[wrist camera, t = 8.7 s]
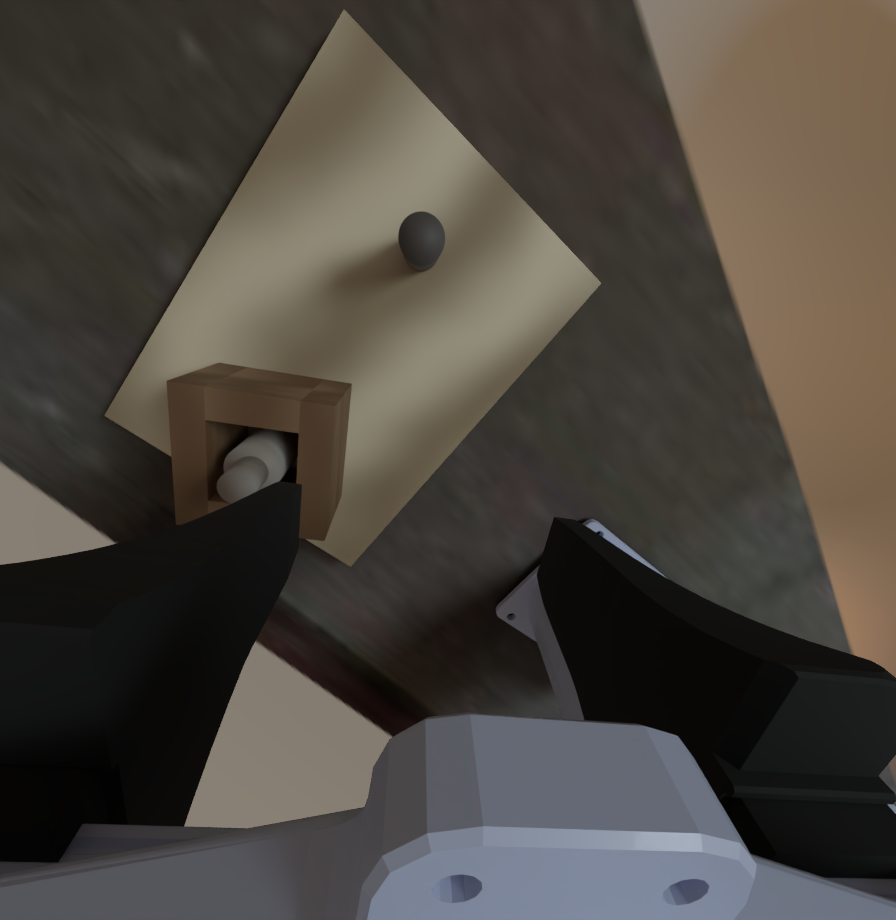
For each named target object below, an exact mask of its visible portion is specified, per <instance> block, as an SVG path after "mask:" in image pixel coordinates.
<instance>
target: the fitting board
mask: <svg viewBox="0 0 896 920" xmlns="http://www.w3.org/2000/svg"><path fill="white" fill-rule="evenodd" d="M600 284H601V282H600V281H599V280H598V279H597V278H596V277H595V276H594V275H593V274H592V273H591V272H590V271H589V270H588V268H587V267H586V266H585V265H584V264H583V263H582V262H581V261H580V260H579V259H578V258H577V257H576V256H575V255H574V254H573V253H572V251H571V250H570V249H569V248H568V247H567V246H566V245H565V244H564V243H563V242H562V241H561V240H560V239H559V238H558V237H557V235H556V234H555V233H554V232H553V231H552V230H551V229H550V228H549V227H548V226H547V225H546V224H545V223H544V222H543V221H542V220H541V218H540V217H539V216H538V215H537V214H536V213H535V212H534V211H533V210H532V209H531V208H530V207H529V206H528V205H527V204H526V202H525V201H524V200H523V199H522V198H521V197H520V196H519V195H518V194H517V193H516V192H515V191H514V190H513V189H512V188H511V187H510V185H509V184H508V183H507V182H506V181H505V180H504V179H503V178H502V177H501V176H500V175H499V174H498V173H497V172H496V171H495V170H494V168H493V167H492V166H491V165H490V164H489V163H488V162H487V161H486V160H485V159H484V158H483V157H482V156H481V155H480V154H479V152H478V151H477V150H476V149H475V148H474V147H473V146H472V145H471V144H470V143H469V142H468V141H467V140H466V139H465V138H464V137H463V135H462V134H461V133H460V132H459V131H458V130H457V129H456V128H455V127H454V126H453V125H452V124H451V123H450V122H449V121H448V119H447V118H446V117H445V116H444V115H443V114H442V113H441V112H440V111H439V110H438V109H437V108H436V107H435V106H434V105H433V104H432V102H431V101H430V100H429V99H428V98H427V97H426V96H425V95H424V94H423V93H422V92H421V91H420V90H419V89H418V88H417V86H416V85H415V84H414V83H413V82H412V81H411V80H410V79H409V78H408V77H407V76H406V75H405V74H404V73H403V72H402V71H401V69H400V68H399V67H398V66H397V65H396V64H395V63H394V62H393V61H392V60H391V59H390V58H389V57H388V56H387V55H386V54H385V52H384V51H383V50H382V49H381V48H380V47H379V46H378V45H377V44H376V43H375V42H374V41H373V40H372V39H371V38H370V36H369V35H368V34H367V33H366V32H365V31H364V30H363V29H362V28H361V27H360V26H359V25H358V24H357V23H356V22H355V21H354V19H353V18H352V17H351V16H350V15H349V14H348V13H347V12H346V11H345V10H343V12H342V14H341V16H340V17H339V19H338V21H337V22H336V24H335V26H334V27H333V29H332V31H331V32H330V34H329V36H328V38H327V39H326V41H325V43H324V44H323V46H322V48H321V49H320V51H319V53H318V54H317V56H316V58H315V60H314V61H313V63H312V65H311V66H310V68H309V70H308V71H307V73H306V75H305V77H304V78H303V80H302V82H301V83H300V85H299V87H298V88H297V90H296V92H295V93H294V95H293V97H292V99H291V100H290V102H289V104H288V105H287V107H286V109H285V110H284V112H283V114H282V115H281V117H280V119H279V121H278V122H277V124H276V126H275V127H274V129H273V131H272V132H271V134H270V136H269V137H268V139H267V141H266V143H265V144H264V146H263V148H262V149H261V151H260V153H259V154H258V156H257V158H256V159H255V161H254V163H253V165H252V166H251V168H250V170H249V171H248V173H247V175H246V176H245V178H244V180H243V182H242V183H241V185H240V187H239V188H238V190H237V192H236V193H235V195H234V197H233V198H232V200H231V202H230V204H229V205H228V207H227V209H226V210H225V212H224V214H223V215H222V217H221V219H220V220H219V222H218V224H217V226H216V227H215V229H214V231H213V232H212V234H211V236H210V237H209V239H208V241H207V242H206V244H205V246H204V248H203V249H202V251H201V253H200V254H199V256H198V258H197V259H196V261H195V263H194V264H193V266H192V268H191V270H190V271H189V273H188V275H187V276H186V278H185V280H184V281H183V283H182V285H181V287H180V288H179V290H178V292H177V293H176V295H175V297H174V298H173V300H172V302H171V303H170V305H169V307H168V309H167V310H166V312H165V314H164V315H163V317H162V319H161V320H160V322H159V324H158V325H157V327H156V329H155V331H154V332H153V334H152V336H151V337H150V339H149V341H148V342H147V344H146V346H145V347H144V349H143V351H142V353H141V354H140V356H139V358H138V359H137V361H136V363H135V364H134V366H133V368H132V369H131V371H130V373H129V375H128V376H127V378H126V380H125V381H124V383H123V385H122V386H121V388H120V390H119V392H118V393H117V395H116V397H115V398H114V400H113V402H112V403H111V405H110V407H109V408H108V410H107V412H106V414H105V415H104V416H106V417H107V418H109V419H110V420H112V421H114V422H115V423H117V424H119V425H120V426H122V427H123V428H125V429H127V430H128V431H130V432H132V433H133V434H135V435H137V436H138V437H140V438H141V439H143V440H145V441H146V442H148V443H150V444H151V445H153V446H154V447H156V448H158V449H159V450H161V451H163V452H164V453H166V454H167V455H169V456H171V442H170V427H169V412H168V397H167V382H166V381H167V380H170V379H173V378H176V377H179V376H182V375H185V374H188V373H190V372H193V371H196V370H199V369H202V368H205V367H208V366H211V365H213V364H216V363H225V364H231V365H237V366H244V367H250V368H256V369H263V370H269V371H275V372H282V373H288V374H294V375H301V376H307V377H313V378H320V379H326V380H332V381H339V382H345V383H351V384H352V389H351V400H350V410H349V421H348V432H347V442H346V453H345V464H344V475H343V485H342V496H341V499H340V501H339V504H338V507H337V509H336V512H335V515H334V517H333V520H332V522H331V525H330V528H329V530H328V533H327V536H326V538H325V541H319V540H310V539H306V540H308V541H309V542H311V543H312V544H314V545H316V546H317V547H319V548H321V549H322V550H324V551H325V552H327V553H329V554H330V555H332V556H334V557H335V558H337V559H339V560H340V561H342V562H343V563H345V564H347V565H348V566H350V567H351V566H352V564H353V563H354V562H355V561H356V560H357V559H358V558H359V557H360V555H361V554H362V553H363V552H364V551H365V550H366V549H367V547H368V546H369V545H370V544H371V543H372V542H373V541H374V540H375V538H376V537H377V536H378V535H379V534H380V533H381V532H382V531H383V529H384V528H385V527H386V526H387V525H388V524H389V523H390V521H391V520H392V519H393V518H394V517H395V516H396V515H397V514H398V512H399V511H400V510H401V509H402V508H403V507H404V506H405V505H406V503H407V502H408V501H409V500H410V499H411V498H412V497H413V496H414V494H415V493H416V492H417V491H418V490H419V489H420V488H421V486H422V485H423V484H424V483H425V482H426V481H427V480H428V479H429V477H430V476H431V475H432V474H433V473H434V472H435V471H436V470H437V468H438V467H439V466H440V465H441V464H442V463H443V462H444V460H445V459H446V458H447V457H448V456H449V455H450V454H451V453H452V451H453V450H454V449H455V448H456V447H457V446H458V445H459V444H460V442H461V441H462V440H463V439H464V438H465V437H466V436H467V435H468V433H469V432H470V431H471V430H472V429H473V428H474V427H475V425H476V424H477V423H478V422H479V421H480V420H481V419H482V418H483V416H484V415H485V414H486V413H487V412H488V411H489V410H490V409H491V407H492V406H493V405H494V404H495V403H496V402H497V401H498V399H499V398H500V397H501V396H502V395H503V394H504V393H505V392H506V390H507V389H508V388H509V387H510V386H511V385H512V384H513V383H514V381H515V380H516V379H517V378H518V377H519V376H520V375H521V374H522V372H523V371H524V370H525V369H526V368H527V367H528V366H529V364H530V363H531V362H532V361H533V360H534V359H535V358H536V357H537V355H538V354H539V353H540V352H541V351H542V350H543V349H544V348H545V346H546V345H547V344H548V343H549V342H550V341H551V340H552V338H553V337H554V336H555V335H556V334H557V333H558V332H559V331H560V329H561V328H562V327H563V326H564V325H565V324H566V323H567V322H568V320H569V319H570V318H571V317H572V316H573V315H574V314H575V313H576V311H577V310H578V309H579V308H580V307H581V306H582V305H583V303H584V302H585V301H586V300H587V299H588V298H589V297H590V296H591V294H592V293H593V292H594V291H595V290H596V289H597V288H598V287H599V285H600ZM298 439H299V433H293V432H286V431H279V430H272V429H265V428H257V427H250V426H248V437H247V438H246V439H245V440H244V441H243V442H242V443H240V444H239V445H238V446H237V447H236V448H234V449H233V450H232V451H231V452H230V453H229V454H228V455H227V457H226V458H225V461H224V474H223V475H222V476H221V477H220V478H219V480H218V482H217V491H218V493H219V495H220V496H221V497H222V498H223V499H224V500H225V501H227V502H229V503H231V504H232V503H234V502H236V501H238V500H240V499H242V498H244V497H246V496H248V495H251V494H253V493H255V492H257V491H259V490H261V489H263V488H265V487H267V486H269V485H271V484H273V483H276V482H279V481H280V480H281V479H282V477H283V476H284V474H285V473H286V472H287V470H288V469H289V468H290V467H294V468H297V459H298Z"/></svg>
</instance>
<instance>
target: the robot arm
mask: <svg viewBox="0 0 896 920" xmlns="http://www.w3.org/2000/svg"><path fill="white" fill-rule="evenodd" d="M301 495H302V484H295V483H288V482H280V481H279V482H276V483H273V484H271V485H269V486H267V487H265V488H263V489H261V490H259V491H257V492H255V493H253V494H251V495H248V496H246V497H244V498H242V499H240V500H238V501H236V502H234V503H232V504H230V505H228V506H225V507H223V508H221V509H218V510H216V511H214V512H211V513H209V514H207V515H204V516H202V517H200V518H197V519H195V520H192V521H190V522H187V523H184V524H182V525H179V526H176V527H173V528H170V529H167V530H164V531H161V532H158V533H155V534H152V535H148V536H145V537H141V538H137V539H133V540H129V541H125V542H121V543H117V544H113V545H110V546H106V547H102V548H97V549H93V550H88V551H83V552H78V553H73V554H69V555H63V556H57V557H51V558H45V559H39V560H33V561H26V562H20V563H12V564H5V565H0V920H896V807H895V806H894V805H893V804H894V802H895V801H896V796H895V793H894V792H893V791H892V790H891V789H890V788H889V787H888V786H887V785H886V784H885V783H884V782H883V781H882V780H881V778H880V777H879V774H880V773H881V772H882V771H883V770H884V768H885V767H886V766H887V765H888V764H889V762H890V761H891V760H892V759H893V757H894V756H895V755H896V678H895V677H894V676H893V675H892V674H890V673H889V672H888V671H887V670H885V669H884V668H883V667H881V666H879V665H878V664H876V663H874V662H872V661H870V660H867V659H864V658H860V657H857V656H854V655H851V654H848V653H845V652H841V651H838V650H835V649H832V648H829V647H826V646H822V645H819V644H816V643H813V642H810V641H807V640H804V639H801V638H798V637H796V636H793V635H790V634H788V633H785V632H782V631H779V630H777V629H774V628H771V627H769V626H766V625H764V624H761V623H759V622H756V621H754V620H751V619H749V618H746V617H744V616H742V615H740V614H737V613H735V612H733V611H731V610H728V609H726V608H724V607H722V606H719V605H717V604H715V603H713V602H711V601H709V600H707V599H705V598H703V597H701V596H699V595H697V594H695V593H693V592H691V591H689V590H687V589H685V588H684V587H682V586H680V585H678V584H676V583H674V582H673V581H671V580H669V579H668V578H666V577H665V576H664V575H663V574H662V573H660V572H659V571H658V570H657V569H655V568H654V567H653V566H652V565H651V564H649V563H648V562H647V561H646V560H644V559H643V558H642V557H641V556H639V555H638V554H637V553H636V552H635V551H633V550H632V549H631V548H630V547H628V546H627V545H626V544H625V543H624V542H622V541H621V540H620V539H619V538H617V537H616V536H615V535H614V534H613V533H611V532H610V531H609V530H608V529H606V528H605V527H604V526H603V525H601V524H600V523H599V522H598V521H596V520H594V519H590V520H587V521H585V522H584V523H583V524H581V523H580V522H578V521H576V520H572V519H564V518H557V517H554V519H553V523H552V526H551V529H550V532H549V536H548V539H547V542H546V545H545V549H544V552H543V555H542V559H541V562H540V565H539V566H538V567H537V568H536V569H535V570H534V571H532V572H531V573H530V574H529V575H528V576H527V577H526V578H525V579H524V580H523V581H522V582H521V583H520V584H519V585H518V586H517V587H516V588H515V589H514V590H513V591H511V592H510V593H509V594H508V595H507V596H506V597H505V598H504V599H503V600H502V601H501V602H500V603H499V604H498V605H497V606H496V614H497V616H498V617H499V618H500V619H502V620H503V621H505V622H506V623H508V624H510V625H511V626H513V627H514V628H516V629H517V630H519V631H520V632H522V633H523V634H525V635H526V636H528V637H529V638H531V639H533V640H534V641H536V642H537V644H538V646H539V649H540V652H541V655H542V658H543V661H544V664H545V667H546V670H547V673H548V676H549V679H550V682H551V685H552V688H553V691H554V694H555V697H556V700H557V703H558V706H559V709H560V712H561V715H562V717H563V719H558V718H543V717H528V716H513V715H499V714H484V713H469V712H466V713H458V714H450V715H441V716H433V717H428V718H426V719H424V720H422V721H420V722H419V723H417V724H415V725H413V726H411V727H410V728H408V729H406V730H404V731H402V732H400V733H399V734H397V735H395V736H394V737H393V738H391V739H390V740H389V742H388V743H387V745H386V747H385V748H384V750H383V752H382V753H381V755H380V757H379V759H378V760H377V762H376V764H375V765H374V767H373V772H372V778H371V784H370V790H369V796H368V799H367V802H366V804H365V807H363V808H357V809H352V810H347V811H341V812H335V813H330V814H325V815H319V816H313V817H308V818H302V819H297V820H292V821H286V822H280V823H275V824H269V825H264V826H258V827H253V828H248V829H246V828H213V827H184V825H185V821H186V819H187V815H188V813H189V810H190V807H191V804H192V801H193V798H194V796H195V792H196V790H197V787H198V784H199V781H200V779H201V776H202V773H203V770H204V768H205V765H206V762H207V759H208V756H209V754H210V751H211V748H212V745H213V743H214V740H215V738H216V735H217V732H218V730H219V727H220V724H221V722H222V719H223V716H224V714H225V711H226V708H227V706H228V703H229V700H230V698H231V696H232V693H233V691H234V688H235V686H236V683H237V680H238V678H239V675H240V673H241V670H242V668H243V665H244V663H245V661H246V659H247V657H248V655H249V653H250V650H251V648H252V646H253V644H254V643H255V641H256V639H257V637H258V635H259V633H260V631H261V629H262V627H263V625H264V623H265V622H266V620H267V618H268V616H269V614H270V612H271V610H272V608H273V606H274V604H275V602H276V600H277V599H278V597H279V595H280V593H281V591H282V589H283V587H284V585H285V583H286V581H287V579H288V576H289V574H290V571H291V568H292V565H293V562H294V559H295V557H296V554H297V551H298V546H299V529H300V512H301ZM598 531H601V532H600V534H597V533H596V532H598ZM511 613H513V615H511V616H508V614H511Z"/></svg>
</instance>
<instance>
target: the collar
mask: <svg viewBox="0 0 896 920" xmlns="http://www.w3.org/2000/svg"><path fill="white" fill-rule="evenodd" d="M166 382H167V397H168V412H169V427H170V442H171V458H172V473H173V488H174V503H175V518H176V525H182V524H184V523H187V522H190V521H192V520H195V519H197V518H200V517H202V516H204V515H207V514H209V513H211V512H214V511H216V510H218V509H221V508H223V507H225V506H228V505H230V504H231V503H229V502H227V501H225V500H224V499H223V498H222V497H221V496H220V495H219V493H218V491H217V482H218V480H219V478H220V477H221V476H222V475H223V474H224V461H225V458H226V457H227V455H228V454H229V453H230V452H231V451H232V450H233V449H234V448H236V447H237V446H238V445H239V444H240V443H242V442H243V441H244V440H245V439H246V438H247V437H248V426H250V427H257V428H265V429H272V430H279V431H286V432H293V433H299V439H298V459H297V468H294V467H290V468H289V469H288V470H287V472H286V473H285V474H284V476H283V477H282V479H281V480H280V482H288V483H295V484H302V495H301V512H300V529H299V538H301V539H310V540H319V541H325V538H326V536H327V533H328V530H329V528H330V525H331V522H332V520H333V517H334V515H335V512H336V509H337V507H338V504H339V501H340V499H341V496H342V485H343V475H344V464H345V453H346V442H347V432H348V421H349V410H350V400H351V389H352V384H351V383H345V382H339V381H332V380H326V379H320V378H313V377H307V376H301V375H294V374H288V373H282V372H275V371H269V370H263V369H256V368H250V367H244V366H237V365H231V364H225V363H216V364H213V365H211V366H208V367H205V368H202V369H199V370H196V371H193V372H190V373H188V374H185V375H182V376H179V377H176V378H173V379H170V380H167V381H166Z"/></svg>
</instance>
